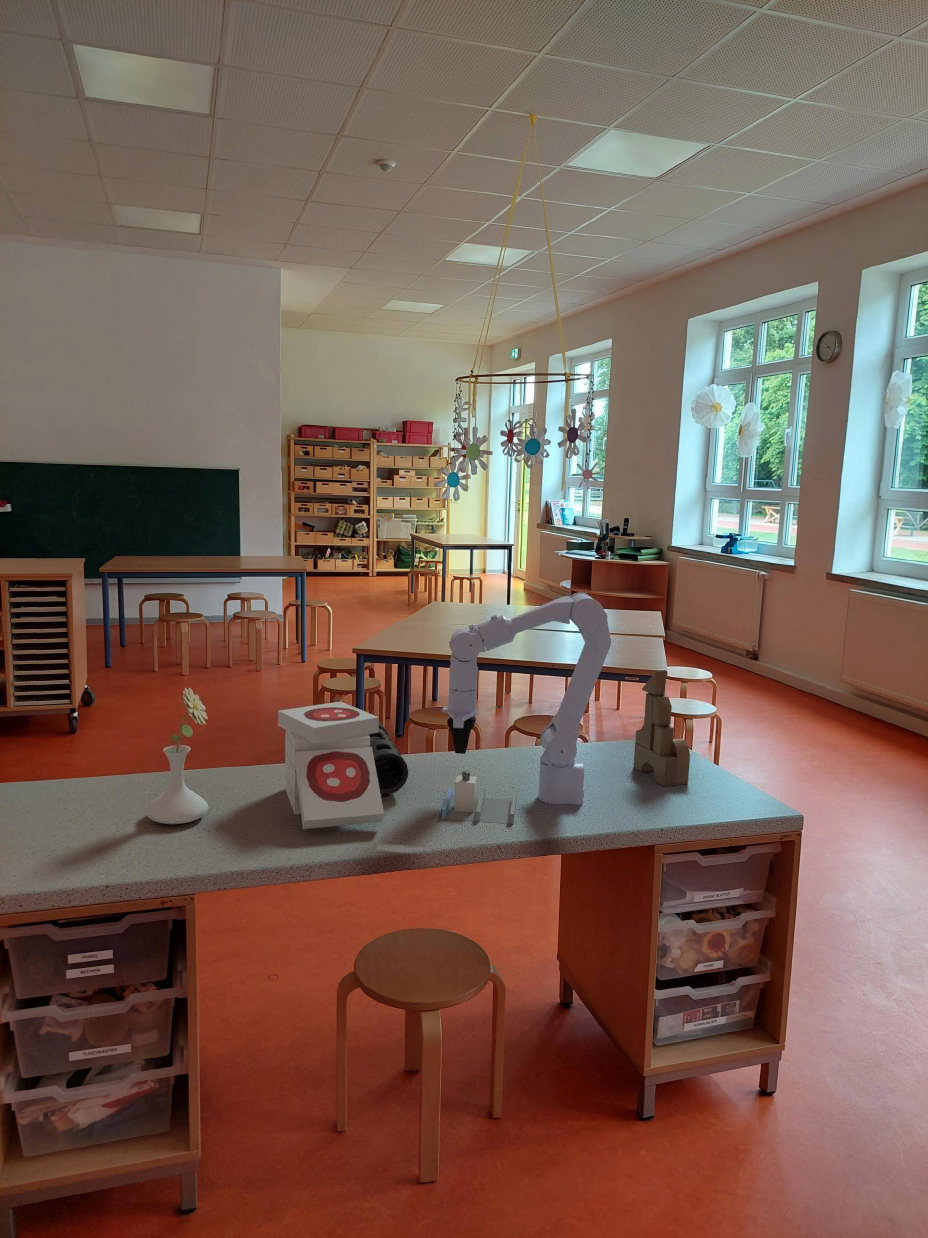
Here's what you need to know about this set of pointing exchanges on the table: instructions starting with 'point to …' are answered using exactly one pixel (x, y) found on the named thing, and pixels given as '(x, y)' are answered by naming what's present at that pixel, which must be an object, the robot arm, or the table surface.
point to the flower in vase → (180, 775)
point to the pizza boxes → (331, 765)
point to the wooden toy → (660, 738)
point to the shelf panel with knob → (482, 809)
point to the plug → (465, 792)
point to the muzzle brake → (387, 763)
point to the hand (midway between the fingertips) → (460, 752)
